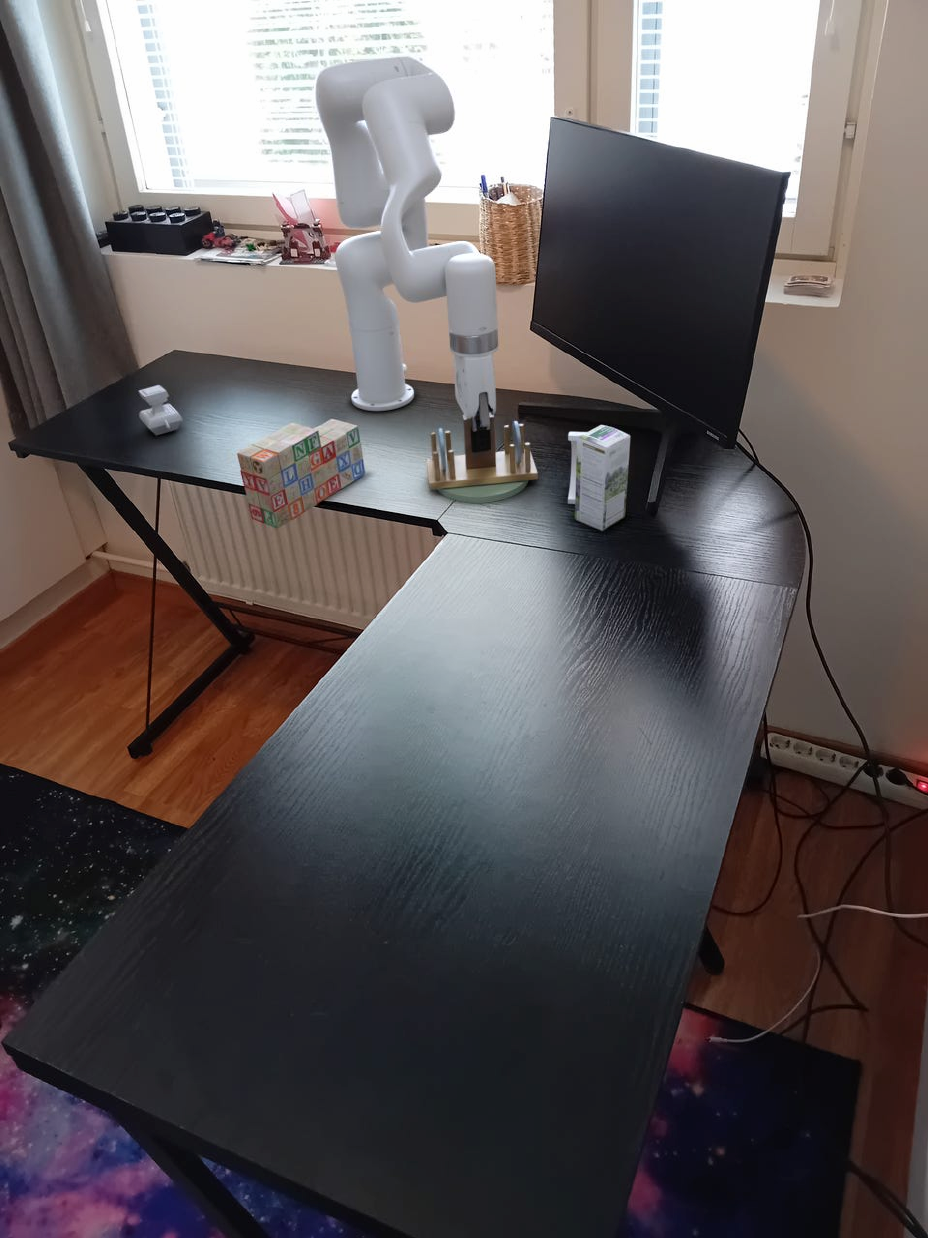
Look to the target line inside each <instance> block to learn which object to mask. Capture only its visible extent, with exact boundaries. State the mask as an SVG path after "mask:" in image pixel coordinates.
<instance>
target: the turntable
mask: <svg viewBox="0 0 928 1238" xmlns="http://www.w3.org/2000/svg"><path fill="white" fill-rule="evenodd" d="M463 455H465V453H464V454H463ZM528 483H529V480H524V481H513V482H503V483H493V484H483V485H472V486H462V487H452V488H442V489H436V490H437V491H438V493H440V494H441V495H442V496H444V497H445V498H448V499H450V500H453V501H455V502H459V503H460V502H462V503H466V504H467V503H469V504H486V503H495V502H499V501H502V500H503V501H504V500H506V499H509V498H511V497H513V496H515V495H517V494H519V493H520V492H522V491H523V490H524V489H525V487H526V486H527V485H528Z"/></svg>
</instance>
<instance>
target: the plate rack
mask: <svg viewBox="0 0 928 1238" xmlns="http://www.w3.org/2000/svg"><path fill="white" fill-rule="evenodd" d="M494 415H495V414H494ZM494 415H491V413H490V412H489V416H490V435H491V450H489V451H482V452H476V453H473V452H472V448H471V432H470V429H472V417H471V418H470V419H469V418H467V417H466V416H465V415H464V414H462V416H461V417H462V433H463V446H464V447H463V448H464V449H463V450H464V454H465V455H464V454H458V455H455V450H454V449H452V437H451V431H450V430H446V431H443V428H442V427H440V428H438V431H437V433H438V442H439V443H438V444H439V451H438V446H437V434H436V432H434V431H431V432H430V433H429V437H430V438H429V439H430V448H431V457H429V458H425V461H426V462H425V463H426V470H427V471H426V472H427V478H428V487H429V490H437V489H442V488H452V487H462V486H472V485H483V484H493V483H503V482H513V481H524V480H528V481H533V480H538V479H539V473H538V472H539V471H538V469H537V466H536V463H535V460H534V457H533V454H532V451H531V443H530V442H525V425H524V423H519V422H518V420H514V421H512V428H511V432H512V443H511V439H510V436H511V435H510V425H509V424H506V425H504V426H503V436H504V437H503V440H504V441H503V442H504V450H501V451H496V432H495V429H496V428H495V416H494ZM477 419H480V417H477V418H476V421H477ZM439 454H440V455H439Z"/></svg>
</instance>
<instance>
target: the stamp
mask: <svg viewBox="0 0 928 1238" xmlns="http://www.w3.org/2000/svg"><path fill="white" fill-rule="evenodd" d="M138 394H139V396H140V398H142V399H143V400H144V401H145V402H146V403H147V404H148V405H149V407H150V408H147V409H144V410H143V409H142V410H141V411H139V415H138V416H139V419H140V420H141V421H142V422H143V423H144V425H145V426H146V428H147V429H148V430H150V432H152V434H154V435H155V436H158V435H159V436H160V435H163V434H166V433H170V432H173V431H177V430H179V428H180V425H181V424H182V422H183V417H182V416H181V414H180V413H179V412H178V411H177V410H176V409H175V408H174V407H173V406H172V404H171V403H167V402H168V398H169V397H170V395H169V393H168V391H167V390H166V389H165V388H164V387H163V386H162V385H160V384H157V385H154V386H150V387H146V388H142V389H140V390H138ZM164 403H166V404H164Z"/></svg>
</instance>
